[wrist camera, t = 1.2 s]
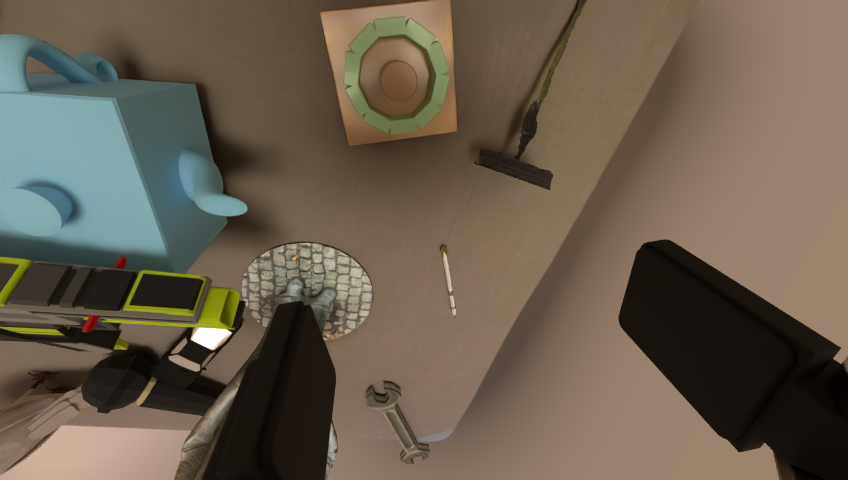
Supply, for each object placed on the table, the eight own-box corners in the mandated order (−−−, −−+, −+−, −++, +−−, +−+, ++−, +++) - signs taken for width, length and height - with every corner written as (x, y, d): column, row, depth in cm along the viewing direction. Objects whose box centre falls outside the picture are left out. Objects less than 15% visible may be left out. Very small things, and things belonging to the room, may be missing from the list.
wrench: (359, 389, 43) (402, 459, 53) (360, 401, 41) (405, 470, 52) (394, 375, 43) (430, 446, 54) (396, 386, 42) (433, 457, 52)
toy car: (187, 385, 36) (177, 404, 33) (149, 369, 34) (135, 387, 32) (246, 319, 35) (240, 333, 33) (210, 299, 34) (201, 313, 31)
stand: (321, 13, 23) (309, 4, 18) (447, -1, 23) (464, -13, 19) (349, 143, 27) (345, 160, 23) (454, 128, 28) (469, 142, 24)
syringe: (455, 321, 37) (449, 318, 38) (460, 316, 38) (454, 313, 39) (443, 249, 33) (436, 247, 33) (449, 244, 33) (442, 242, 34)
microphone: (270, 404, 45) (97, 359, 35) (293, 389, 43) (115, 335, 32) (259, 449, 41) (58, 413, 31) (284, 434, 39) (76, 390, 28)
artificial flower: (447, 156, 30) (445, 166, 21) (561, -152, 23) (637, -351, 14) (536, 189, 30) (573, 214, 21) (676, -104, 23) (829, -267, 14)
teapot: (-31, 25, 20) (-396, 0, 11) (273, 53, 23) (203, 54, 14) (79, 242, 28) (-76, 342, 18) (297, 243, 31) (262, 330, 21)
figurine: (399, 284, 35) (352, 672, 15) (333, 336, 41) (241, 656, 22) (287, 215, 30) (-1, 672, 10) (232, 287, 36) (-11, 652, 16)
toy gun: (265, 330, 31) (243, 263, 19) (255, 376, 29) (222, 334, 17) (-2, 314, 26) (-272, 206, 14) (-39, 370, 24) (-398, 301, 12)
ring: (334, 26, 22) (330, 24, 20) (441, 14, 23) (446, 11, 21) (356, 134, 26) (354, 139, 24) (447, 121, 26) (452, 126, 25)
